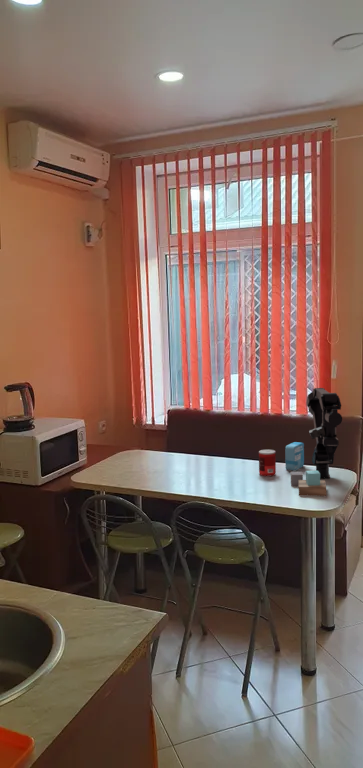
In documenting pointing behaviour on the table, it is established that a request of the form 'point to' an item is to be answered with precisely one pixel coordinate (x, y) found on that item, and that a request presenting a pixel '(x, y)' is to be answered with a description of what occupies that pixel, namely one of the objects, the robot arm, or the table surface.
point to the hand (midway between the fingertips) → (329, 457)
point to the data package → (294, 456)
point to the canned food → (267, 462)
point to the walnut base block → (312, 489)
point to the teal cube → (312, 477)
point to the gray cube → (296, 478)
